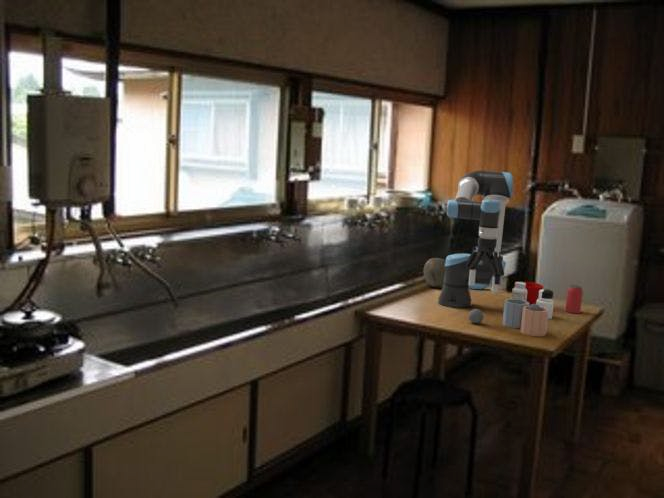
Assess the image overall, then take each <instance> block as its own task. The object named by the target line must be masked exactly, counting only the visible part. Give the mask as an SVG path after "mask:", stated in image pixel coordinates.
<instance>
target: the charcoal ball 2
mask: <svg viewBox="0 0 664 498" xmlns="http://www.w3.org/2000/svg"><path fill="white" fill-rule="evenodd" d="M527 309H528V310H533V311H542V309H541V307H540V306H539V305H537V304H531V305H530V306H528V308H527Z"/></svg>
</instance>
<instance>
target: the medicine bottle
mask: <svg viewBox="0 0 664 498" xmlns="http://www.w3.org/2000/svg"><path fill="white" fill-rule="evenodd" d="M538 298H539V299H537V301H536V304H537V305H539V306H540V307H543V308H546V309H548V310H549V311H548V320H552V319H553V314H554V313H553V312H554V304H555V301H554V300H553V299H554V292H553V290H550V289H545V288H543V289H542V290H540V291H539V297H538Z"/></svg>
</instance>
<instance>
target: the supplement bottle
mask: <svg viewBox="0 0 664 498" xmlns="http://www.w3.org/2000/svg"><path fill="white" fill-rule="evenodd" d="M523 282H524V281H515V282H514V287H513V288H512V290H511V299H519V300H524V301H527V289H525V287H526V283H523Z"/></svg>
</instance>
